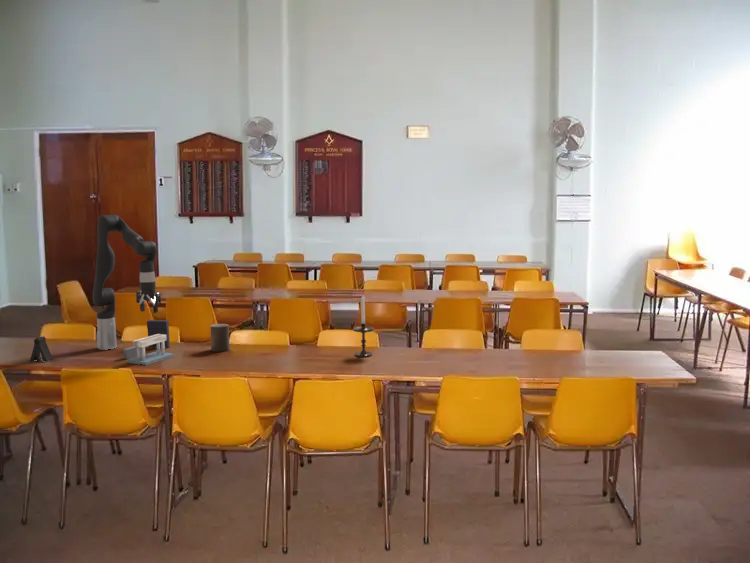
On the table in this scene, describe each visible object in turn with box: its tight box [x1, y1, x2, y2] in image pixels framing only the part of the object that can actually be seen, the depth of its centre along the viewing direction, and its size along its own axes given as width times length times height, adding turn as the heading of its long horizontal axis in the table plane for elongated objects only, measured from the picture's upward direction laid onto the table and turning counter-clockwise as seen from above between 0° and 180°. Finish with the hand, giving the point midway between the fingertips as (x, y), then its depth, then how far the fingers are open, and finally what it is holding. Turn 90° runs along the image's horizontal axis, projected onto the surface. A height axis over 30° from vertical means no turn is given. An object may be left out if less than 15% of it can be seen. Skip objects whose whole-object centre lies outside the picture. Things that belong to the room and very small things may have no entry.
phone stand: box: [29, 335, 53, 362], centre depth 375 cm, size 9×6×12 cm, turn 85°
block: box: [122, 346, 142, 360], centre depth 381 cm, size 3×10×5 cm, turn 154°
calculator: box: [146, 319, 171, 349], centre depth 402 cm, size 11×4×15 cm, turn 84°
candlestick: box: [352, 289, 375, 358], centre depth 379 cm, size 11×11×35 cm
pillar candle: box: [210, 323, 230, 353], centre depth 395 cm, size 10×10×15 cm
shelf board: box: [132, 334, 167, 349], centre depth 374 cm, size 6×18×3 cm, turn 154°
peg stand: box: [127, 341, 175, 366], centre depth 375 cm, size 12×20×8 cm, turn 154°
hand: (149, 312), depth 372 cm, fingers open, 8 cm apart
